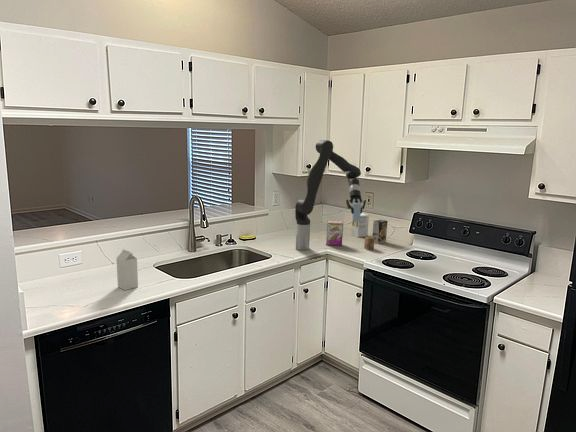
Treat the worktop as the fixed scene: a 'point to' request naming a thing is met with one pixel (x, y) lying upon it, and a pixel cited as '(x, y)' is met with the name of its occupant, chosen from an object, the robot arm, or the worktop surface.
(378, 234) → the coffee box
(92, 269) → the worktop surface
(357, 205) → the slate-blue block
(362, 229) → the supplement box
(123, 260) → the milk carton
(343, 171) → the robot arm
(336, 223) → the candy bar box
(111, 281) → the worktop surface
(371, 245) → the walnut block
